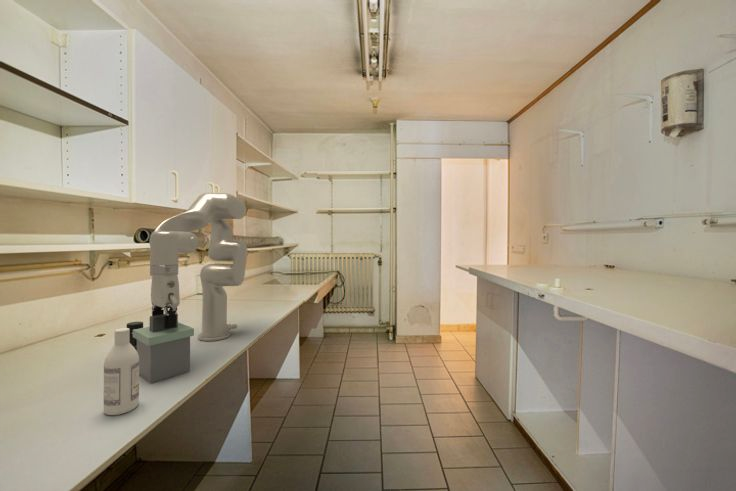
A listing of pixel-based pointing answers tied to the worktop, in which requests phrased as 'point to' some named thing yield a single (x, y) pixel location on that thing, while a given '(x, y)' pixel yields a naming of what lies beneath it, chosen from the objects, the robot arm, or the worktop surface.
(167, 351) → the grey open storage bin
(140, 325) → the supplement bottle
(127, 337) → the bath foam
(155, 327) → the lid
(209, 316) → the robot arm
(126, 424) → the worktop surface
